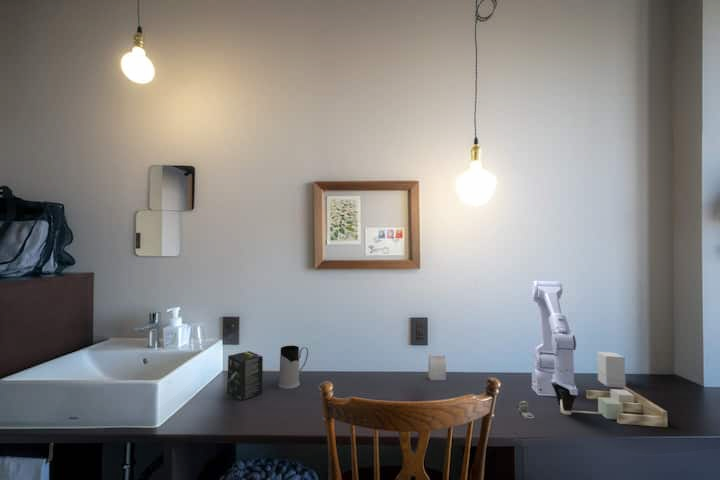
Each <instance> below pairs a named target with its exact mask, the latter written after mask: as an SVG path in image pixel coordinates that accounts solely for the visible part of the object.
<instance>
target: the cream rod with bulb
mask: <svg viewBox="0 0 720 480" xmlns="http://www.w3.org/2000/svg"><path fill="white" fill-rule="evenodd" d="M559 407H560V408H559V409H560V410H559V411H560V413H561V414H563V415H568V416H569V415H570V416H571V415H572V413H581V414H582V413H583V414H593V415H594V414H596V415H597V414H598V415H602V416H603V417H604V418H605V419H607V420H617V413H623V414H624V412H623V404H622V403H620V402H619V401H617V400H616V399H614V398H604V397H598V399H597V408H598V409H597V410H598V411H585V410H571V411H564V409H563V404H562V399H560V406H559Z"/></svg>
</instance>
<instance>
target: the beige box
mask: <svg viewBox="0 0 720 480" xmlns="http://www.w3.org/2000/svg"><path fill="white" fill-rule="evenodd" d="M445 356H446V355H435V354H434V355H431V354H429V356H428V371H427V372H428V373H427V375H428V377H427V378H428V379H429V381H446V380H447V373H446V372H447V371H446V370H447V369H446V368H447V367H446V366H447V365H446V357H445Z"/></svg>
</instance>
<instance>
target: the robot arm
mask: <svg viewBox="0 0 720 480" xmlns="http://www.w3.org/2000/svg"><path fill="white" fill-rule="evenodd" d="M531 294H532V300H533V301H534V302H536V303H537V305H538V306H537V307H538V315H539V316H538V317H539V328H540V342H541V343H540V344H539V345H538V344H537V346H535V347H534V351H533V352H534V355H533V362H534V365H535V367H536V368H533V369H532V370H531V387H530V388H531V389H532V390H533V391H534V392H535V393H536V394H537V395H538V396H543V397H546V396H547V397H556V400H557V405H558V406H559V407H560V399H562V404H563V409H564V411H571V410H572V409H573V405H574V402H575V399H576V398H577V397H578V396H579V389H578V388H577V386H576V383H575V382H576V381H575V372H574V371H575V370H574V368H575V367H574V366H575V365H574V363H575V362H574V361H575V360H574V351H576V348H577V340H576V336H575V334H574V333H573V331H572V330H570V327H569V326H570V325H569V324H568V320H567V317H566V316H565V315H564V314H562V311H561V304H560V299H561V297H562V294H563V285H562V283H561V281H559V280H555V281H553V280H552V281H550V280H549V281H548V280H533V282H532V285H531Z"/></svg>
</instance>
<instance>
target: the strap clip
mask: <svg viewBox="0 0 720 480" xmlns="http://www.w3.org/2000/svg"><path fill="white" fill-rule="evenodd" d="M513 408H514V410H516V412H518V413H520V414H521V416H522V417H524V418H525V419H526V420H535V416H534V415H533V414H532V413H531V412H529V402H528V401H526V400H521V401H519V406H514V407H513Z"/></svg>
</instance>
